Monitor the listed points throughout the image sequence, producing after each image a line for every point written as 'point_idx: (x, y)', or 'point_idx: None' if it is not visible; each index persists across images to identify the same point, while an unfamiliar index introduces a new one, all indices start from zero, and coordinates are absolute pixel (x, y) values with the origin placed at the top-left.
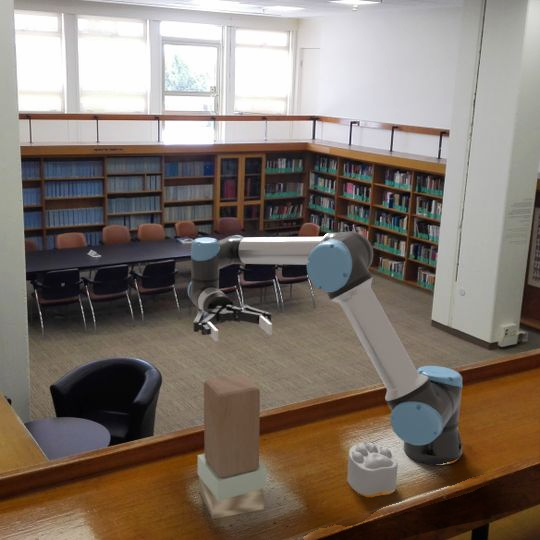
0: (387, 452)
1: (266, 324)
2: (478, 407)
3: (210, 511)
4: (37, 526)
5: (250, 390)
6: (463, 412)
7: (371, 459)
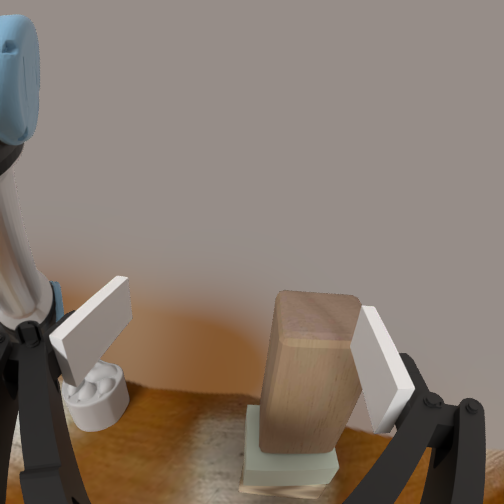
0: None
1: (115, 300)
2: None
3: None
4: (490, 460)
5: (297, 291)
6: None
7: (105, 367)
